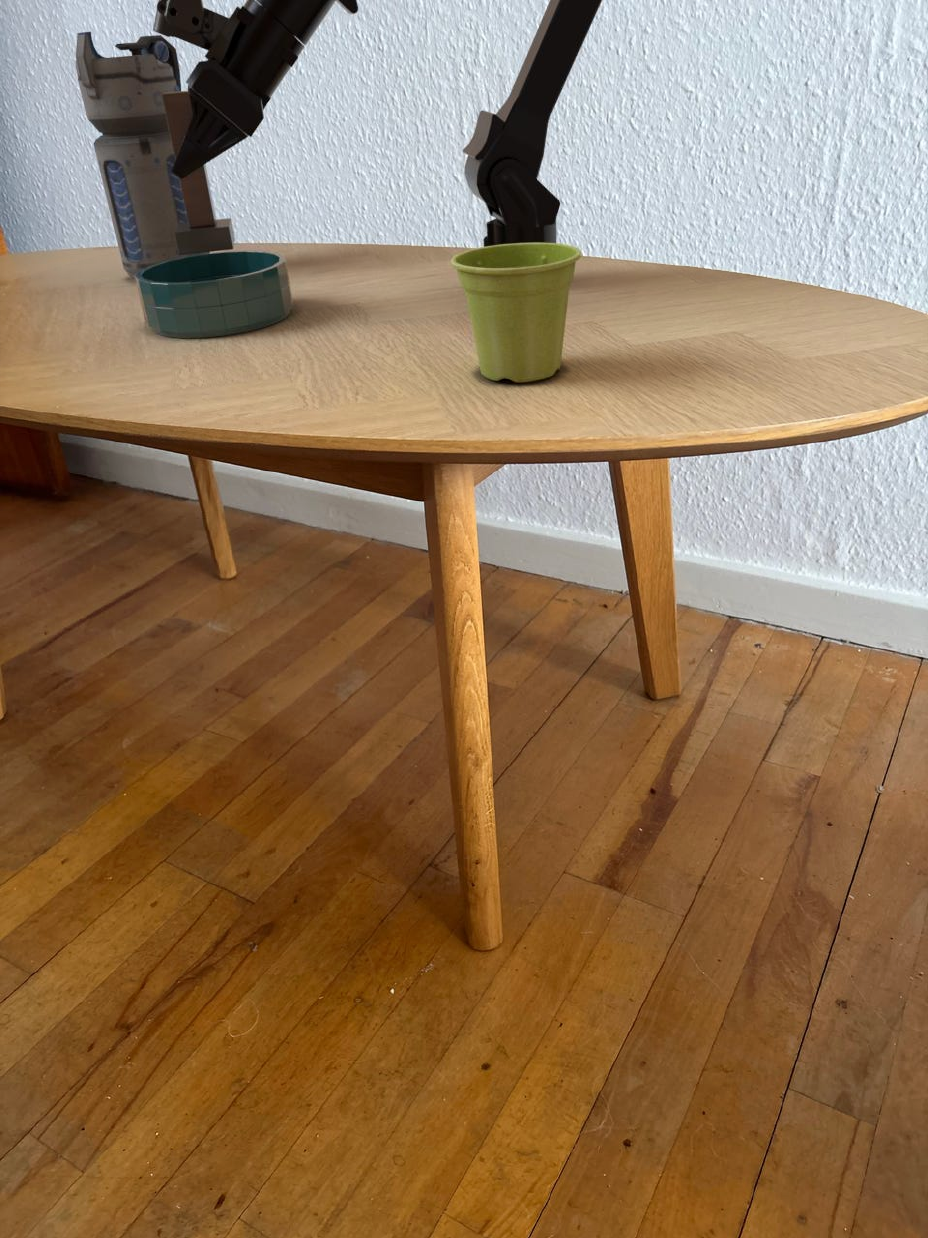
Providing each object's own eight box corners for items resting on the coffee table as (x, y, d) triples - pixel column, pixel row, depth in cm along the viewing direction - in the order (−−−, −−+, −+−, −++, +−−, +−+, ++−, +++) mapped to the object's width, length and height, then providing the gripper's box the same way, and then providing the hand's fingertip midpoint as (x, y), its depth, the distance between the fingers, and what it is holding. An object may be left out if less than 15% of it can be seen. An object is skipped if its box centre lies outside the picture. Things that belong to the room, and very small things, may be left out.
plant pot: (441, 367, 76) (431, 253, 72) (546, 346, 79) (543, 235, 75) (490, 400, 69) (483, 275, 64) (604, 376, 72) (605, 254, 67)
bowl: (321, 304, 97) (314, 252, 94) (230, 344, 87) (219, 286, 84) (214, 296, 103) (204, 247, 100) (116, 333, 93) (103, 279, 90)
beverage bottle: (243, 262, 118) (200, 24, 105) (166, 287, 109) (108, 29, 95) (182, 259, 123) (134, 30, 110) (103, 283, 113) (40, 35, 100)
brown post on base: (235, 239, 94) (206, 88, 87) (233, 249, 89) (203, 90, 83) (183, 245, 93) (150, 92, 86) (178, 254, 89) (144, 95, 82)
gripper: (203, -46, 87) (111, 102, 92) (188, -65, 72) (78, 115, 76) (303, 47, 92) (211, 183, 97) (310, 49, 77) (200, 211, 81)
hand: (177, 173), depth 88 cm, fingers closed on brown post on base, 2 cm apart
